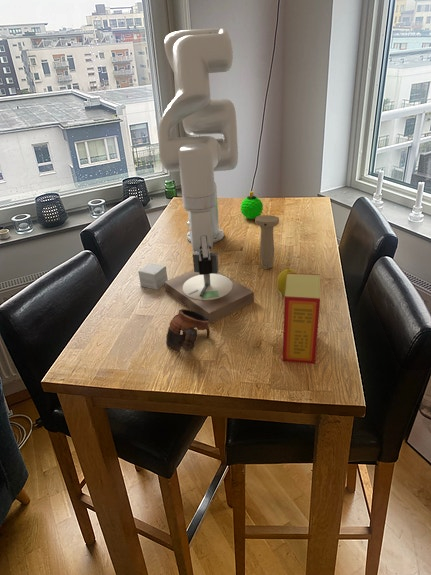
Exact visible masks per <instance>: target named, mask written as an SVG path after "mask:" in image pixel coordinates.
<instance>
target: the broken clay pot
mask: <svg viewBox="0 0 431 575" xmlns="http://www.w3.org/2000/svg"><path fill="white" fill-rule="evenodd" d="M208 320H209V319H208V318H206V317H205V316H203V315H201V314H199V313H197V312H194V311H192V310H191V309H184V308H183V309H182V308H181V309H179V310H178V314H176V315H175V316H173V317H172V318H171V320H170V322H169V326H168V328H167V333H166V336H165V337H166V341H165V344H166V346H167V347H168V348H169V349H171V350H172V351H173V352H175V353H181V349H183V350H184V351H192V350H193V349H194V347H195V342H196V341H197V338H198V331H204V330H206V338H207V339H209V338H210V333H211V332H210V327H209V324H210V323H209V321H208ZM181 331H182V334H181Z"/></svg>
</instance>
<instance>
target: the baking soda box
mask: <svg viewBox="0 0 431 575" xmlns="http://www.w3.org/2000/svg"><path fill="white" fill-rule="evenodd" d="M320 278H321V275H320V274H318V273H317V274H316V273H297V272H296V273H287V280H286V289H285V295H284V301H283V302H284V304H283V305H284V306H283V334H282V335H283V342H282V343H283V344H282V345H283V346H282V362H288V363H289V362H291V363H302V364H316V354H317V342H318V333H319V332H318V331H319V330H318V329H319V318H320V307H321V306H320V304H321V282H320V281H321V279H320Z"/></svg>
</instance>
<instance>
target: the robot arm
mask: <svg viewBox="0 0 431 575" xmlns="http://www.w3.org/2000/svg"><path fill="white" fill-rule="evenodd" d="M232 45H233V44H232V41H231V38H230V34H229V32H228V30H227V29H225V28H223V27H219V28H218V27H216V28H213V27H212V28H203V29H202V28H199V29H198V28H197V29H184V30H178V31H173V32H170V33H168V34H167V35H166V36H165V38H164V51H165V54H166V58H167V61H168V63H169V65H170V67H171V70H172V72H173V76H174V77H173V78H174V79H173V80H174V98H173V99H172V100H171V102H170V103H169V104H167V107H166V108H165V110H164V111H163V113H162V115H161V117H160V121H159V125H158V153H159V159H160V163H161V166H162V167H163V169H164V170H165V171H168V172H179V176H180V184H181V185H180V187H181V194H182V196H181V197H182V204H183V205H182V206H183V209H184V211H187V216H188V221H187V222H186V226H188V227H189V231H188V232H187V233H186V239H187V241H189V242H190V244H191V250H192V252H193V253H194V252H198V253H199V260H198V265H199V274H200V275H205V274H212V263H211V258H210V253H211V251H212V250H213V249H214V243H218V242H219V241H221V240H222V239H223V238H224V236H225V232H224V230H223V229H221V228H220V222H219V221H220V220H219V204H218V190H217V184H216V181H215V173H214V172H226V171H231V170H234V169H235V168H236V167H238V166H237V165H238V162H239V146H238V129H237V128H238V126H237V124H238V122H237V114H236V108H235V105H234V103H233V102H232V101H231V100H230V99H227V98H217V99H212V98H211V87H210V85H211V84H210V74H217V73H227V72H229V71H230V70H231V68H232V65H233V59H234V58H233V56H234V55H233V54H234V52H233V46H232ZM181 121H182V126H183V130H184V132H185V133H186V134H187V135H191V136H180V137H171V135H172V131H173V130H174V128H175V127H176V125H178V124H179V123H181ZM210 135H220V136H221V138H216V137H214V136H210ZM201 252H202V254H201Z"/></svg>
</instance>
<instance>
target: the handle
mask: <svg viewBox="0 0 431 575" xmlns="http://www.w3.org/2000/svg"><path fill="white" fill-rule="evenodd" d="M254 220H255V222H254V223H255V224H256V225H257V226H259V227H260V244H259V257H260V262H261V263H260V267H261V268H262V269H264V270H271V269H273V266H274V259H275V241H274V227H277V225H279V223H280V218H279V216H275V215H270V214H269V215H268V214H264V215H260V216H257V217H256V218H255V219H254Z"/></svg>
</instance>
